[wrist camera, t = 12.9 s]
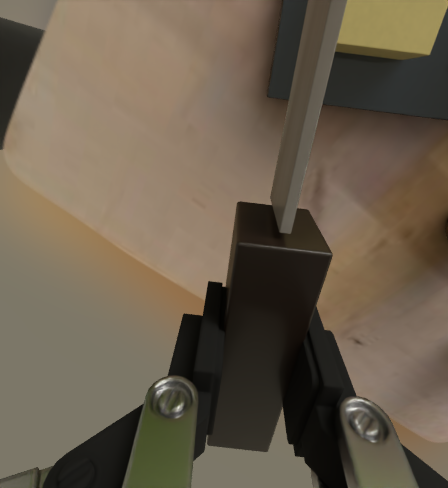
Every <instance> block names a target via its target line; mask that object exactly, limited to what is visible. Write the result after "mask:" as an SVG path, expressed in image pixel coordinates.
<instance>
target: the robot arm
mask: <svg viewBox="0 0 448 488" xmlns="http://www.w3.org/2000/svg"><path fill="white" fill-rule="evenodd" d="M225 299H226V287H222V283H219V282H210V281H208V287H207V293H206V299H205V306H204V312H203V316H200V315H192V314H183V317H182V321H181V326H180V329H179V333H178V337H177V341H176V345H175V349H174V353H173V357H172V361H171V365H170V369H169V373H168V376H167V377H163V378H161V379H159V380H158V381H156V382H155V383H153V385H152V386H151V387H150V388H149V390H148V392H147V395H146V397H145V401H144V404H142V405H141V406H139V407H138V408H136V409H135V410H133V411H132V412H130V413H129V414H127V415H125V416H124V417H122V418H121V419H119V420H118V421H116V422H115V423H113V424H112V425H110V426H108V427H107V428H105V429H104V430H102V431H101V432H99V433H98V434H96V435H95V436H93V437H91V438H90V439H88V440H87V441H85V442H84V443H82V444H81V445H79V446H78V447H76V448H74V449H73V450H71V451H70V452H68V453H67V454H66V455H64V456H63V457H62V458H61V459H59V460H58V461H57V462H56V463H55V465H54V466H51V467H49V468H45V469H43V470H39V468H38V467H36V468H34V469H30V470H27V471H24V472H21V473H18V474H15V475H12V476H9V477H6V478H3V479H0V488H191V480H192V469H193V461H194V460H195V459H196V458H197V457H199V456H200V455H201V454H202V453H203V452H204V450H205V443H206V436H207V435H212V434H213V428H214V422H215V416H216V409H217V403H218V397H219V391H220V384H221V378H222V368H223V354H224V338H225V332H224V330H223V328H224V314H225ZM283 411H284V418H285V426H286V433H287V440H288V443H289V444H293V446H294V453H295V456H298V457H304V459H305V463H306V464H307V465H308V466H309V467H310V468H311V477H312V484H313V488H448V481H447V480H446V479H444V478H443V477H442V476H441V475H439V474H438V473H437V472H436V471H434V470H433V469H432V468H431V467H429V466H428V465H427V464H426V463H424V462H423V461H422V460H421V459H419V458H418V457H417V456H416V455H414V454H413V453H412V452H411V451H410V450H408V449H407V448H406V447H404V446H403V445H402V444H401V443H400V440H399V438H398V436H397V433H396V431H395V428H394V426H393V424H392V422H391V420H390V418H389V417H388V415H387V414H386V413H385V412H384V411H383V410H382V409H381V408H380V407H379V406H378V405H376V404H375V403H374V402H372V401H370V400H368V399H366V398H362V397H359V396H356V393H355V391H354V388H353V385H352V383H351V380H350V377H349V375H348V372H347V369H346V367H345V364H344V362H343V359H342V356H341V354H340V351H339V348H338V346H337V343H336V340H335V338H334V335H333V333H332V332H331V331H328V330H324V327H323V324H322V321H321V319H320V316H319V313H318V310H317V307H316V308H315V311H314V314H313V317H312V320H311V323H310V326H309V329H308V332H307V335H306V338H305V341H303V344H302V347H301V350H300V353H299V356H298V359H297V362H296V365H295V368H294V371H293V374H292V377H291V380H290V383H289V386H288V389H287V392H286V395H285V398H284V401H283Z"/></svg>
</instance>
